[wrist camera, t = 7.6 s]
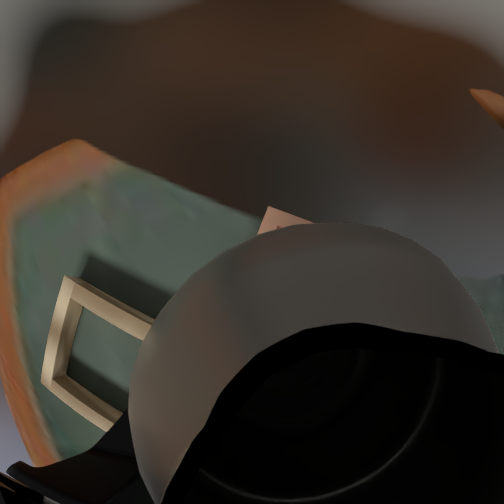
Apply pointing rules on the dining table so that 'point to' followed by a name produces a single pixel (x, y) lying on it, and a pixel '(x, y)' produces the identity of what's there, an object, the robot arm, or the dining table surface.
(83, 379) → the dining table surface
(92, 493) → the robot arm
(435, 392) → the plastic bottle
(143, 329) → the collar
